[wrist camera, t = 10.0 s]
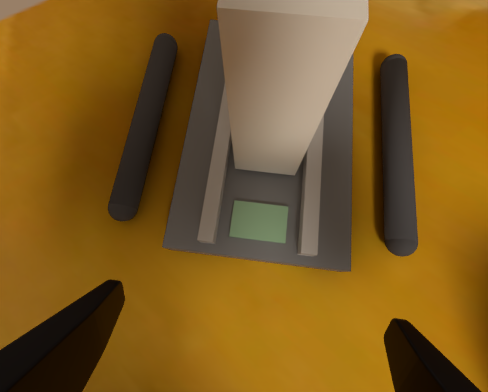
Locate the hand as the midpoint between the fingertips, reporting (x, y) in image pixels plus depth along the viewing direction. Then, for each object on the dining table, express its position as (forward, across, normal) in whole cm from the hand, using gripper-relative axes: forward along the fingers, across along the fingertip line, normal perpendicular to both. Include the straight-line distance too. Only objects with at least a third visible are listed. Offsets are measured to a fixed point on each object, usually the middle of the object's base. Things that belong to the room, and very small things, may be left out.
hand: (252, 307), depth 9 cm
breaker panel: (+11, 0, -3) cm, 12 cm away
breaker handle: (+9, 0, -2) cm, 9 cm away
